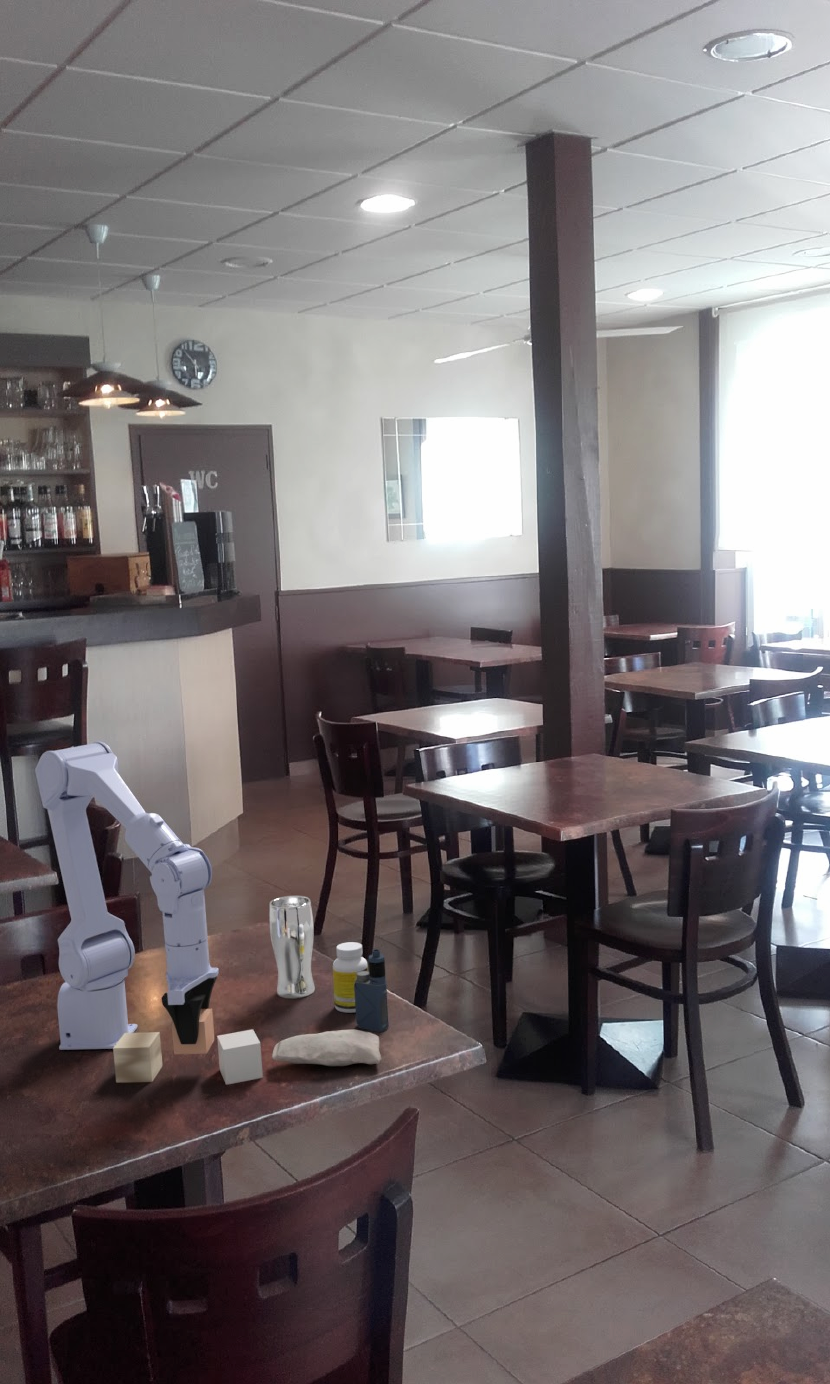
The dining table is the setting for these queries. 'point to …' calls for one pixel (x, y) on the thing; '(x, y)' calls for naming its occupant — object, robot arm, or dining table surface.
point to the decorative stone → (330, 1048)
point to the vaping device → (372, 995)
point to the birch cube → (137, 1057)
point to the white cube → (239, 1056)
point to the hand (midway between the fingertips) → (193, 1035)
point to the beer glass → (292, 945)
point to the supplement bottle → (347, 975)
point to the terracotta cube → (203, 1039)
